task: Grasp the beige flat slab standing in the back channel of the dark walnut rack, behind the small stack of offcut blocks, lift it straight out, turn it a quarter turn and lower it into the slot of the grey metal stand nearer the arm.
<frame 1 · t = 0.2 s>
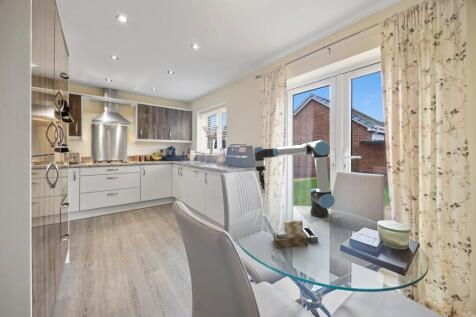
hand: (263, 191, 162), 28 cm above the table, fingers open, 13 cm apart
offcut upper: (281, 237, 130), point 3 cm above the table, touching offcut lower
stand: (309, 237, 131), on the table
offcut lower: (281, 242, 130), resting in rack, touching offcut upper
rack: (290, 242, 128), on the table
beige flat slab: (295, 244, 124), resting in rack
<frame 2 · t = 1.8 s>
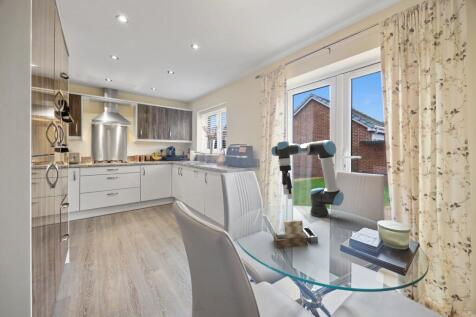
hand: (287, 196, 131), 29 cm above the table, fingers open, 13 cm apart
offcut upper: (280, 237, 130), point 3 cm above the table
offcut lower: (281, 242, 130), resting in rack
everything else where it was.
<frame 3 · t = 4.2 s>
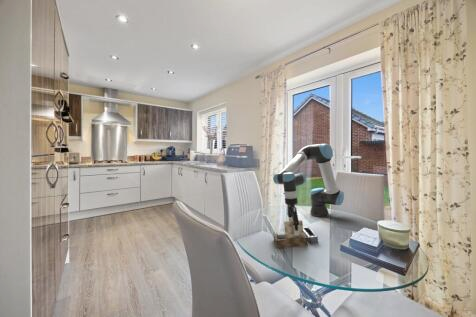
hand: (294, 231, 124), 9 cm above the table, fingers open, 12 cm apart
offcut upper: (281, 237, 130), point 3 cm above the table, touching offcut lower
offcut lower: (281, 242, 130), resting in rack, touching offcut upper
everything else where it was.
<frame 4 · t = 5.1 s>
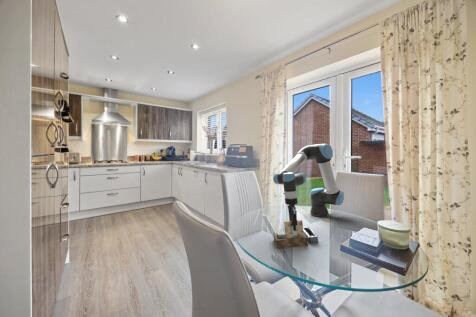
hand: (294, 234, 124), 7 cm above the table, fingers closed on beige flat slab, 2 cm apart
offcut upper: (281, 237, 130), point 3 cm above the table
offcut lower: (281, 242, 130), resting in rack
beige flat slab: (295, 244, 124), resting in rack, touching gripper
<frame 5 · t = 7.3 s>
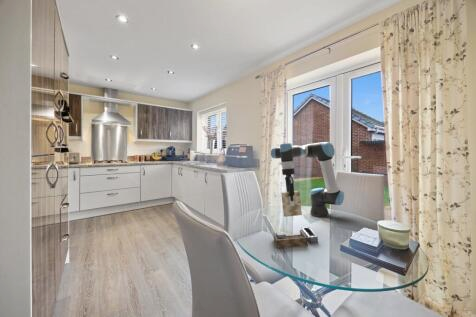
hand: (291, 205, 124), 25 cm above the table, fingers closed on beige flat slab, 2 cm apart
offcut upper: (281, 237, 129), point 3 cm above the table, touching offcut lower
offcut lower: (281, 242, 130), resting in rack, touching offcut upper
beige flat slab: (292, 215, 124), point 19 cm above the table, touching gripper
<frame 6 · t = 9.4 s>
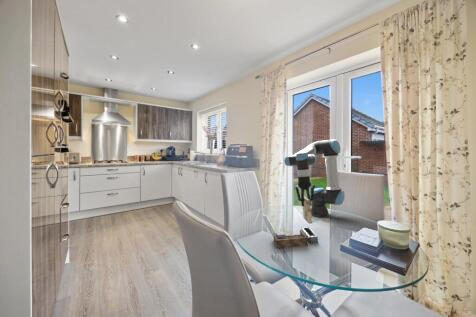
hand: (306, 210, 131), 18 cm above the table, fingers closed on beige flat slab, 2 cm apart
beige flat slab: (307, 220, 131), point 12 cm above the table, touching gripper
everything else where it was.
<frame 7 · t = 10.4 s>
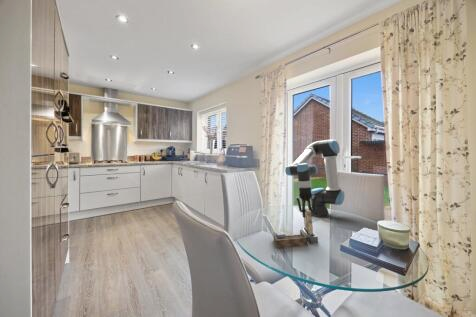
hand: (307, 221, 131), 11 cm above the table, fingers closed on beige flat slab, 2 cm apart
beige flat slab: (308, 231, 131), point 4 cm above the table, touching gripper
everything else where it was.
when the fingers open (8 cm above the table, at t = 11.0 s): beige flat slab drops 1 cm, resting in stand.
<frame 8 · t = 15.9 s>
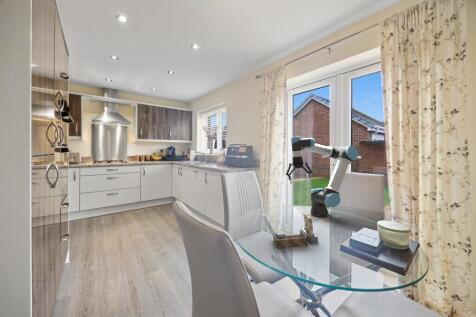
hand: (299, 183, 155), 33 cm above the table, fingers open, 13 cm apart
beige flat slab: (309, 237, 131), resting in stand
everything else where it was.
at the end: beige flat slab 0.0 cm off-centre on the stand, point 0.0 cm above the stand's base; beige flat slab tilted 0°; beige flat slab touching table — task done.
